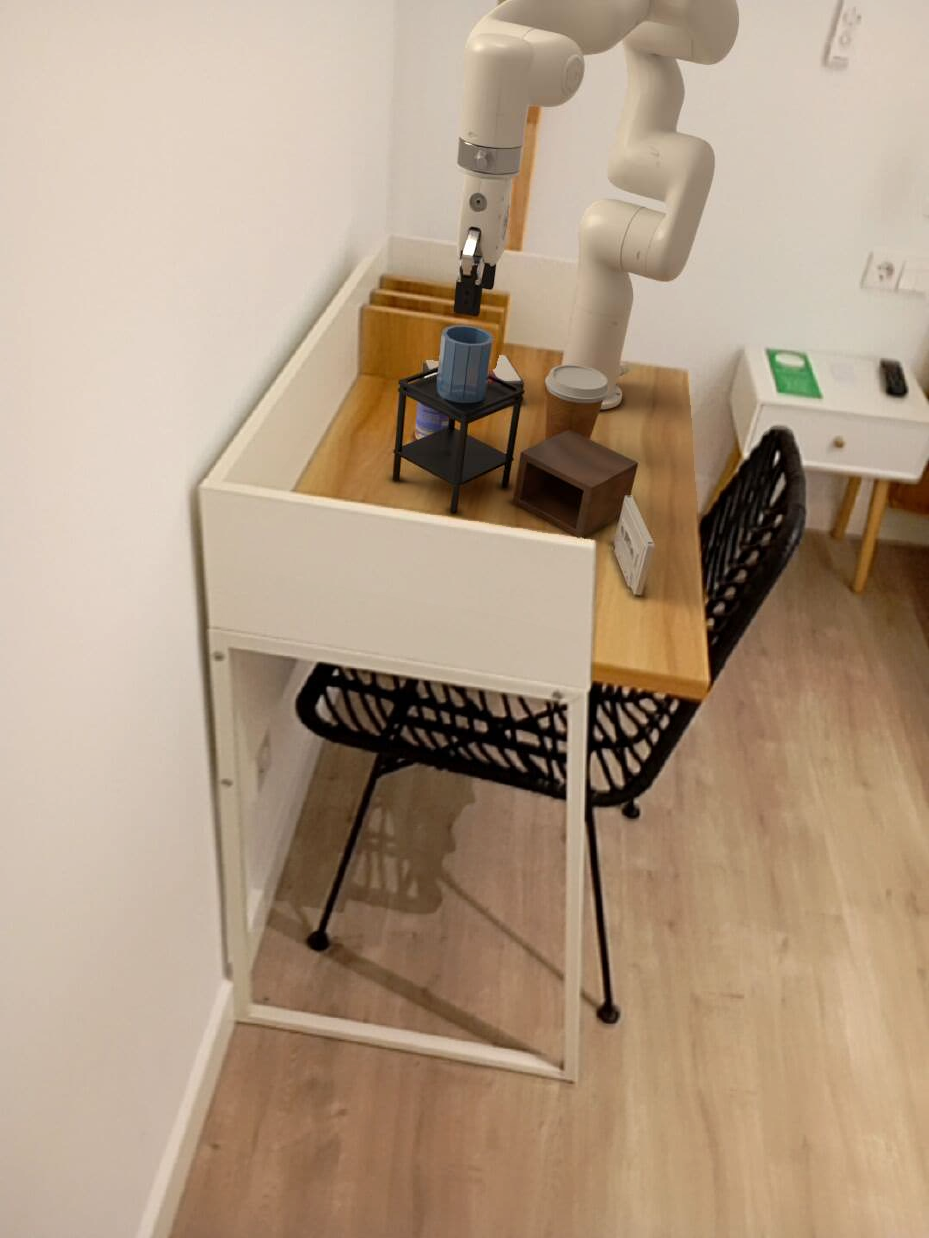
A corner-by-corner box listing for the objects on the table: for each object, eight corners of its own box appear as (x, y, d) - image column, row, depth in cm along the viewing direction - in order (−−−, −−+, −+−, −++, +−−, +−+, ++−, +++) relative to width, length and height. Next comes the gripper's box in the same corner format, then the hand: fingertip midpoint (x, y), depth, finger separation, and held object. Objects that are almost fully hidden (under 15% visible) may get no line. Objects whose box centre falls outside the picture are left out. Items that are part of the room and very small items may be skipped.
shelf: (559, 478, 149) (568, 429, 144) (626, 512, 143) (638, 462, 138) (512, 502, 142) (520, 451, 137) (581, 539, 136) (592, 487, 131)
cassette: (609, 543, 136) (621, 493, 131) (623, 543, 136) (635, 494, 132) (630, 596, 127) (644, 545, 122) (645, 596, 127) (659, 545, 122)
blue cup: (459, 377, 139) (465, 321, 134) (495, 395, 136) (503, 338, 131) (426, 389, 135) (431, 332, 130) (463, 408, 132) (470, 349, 127)
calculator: (421, 354, 170) (507, 351, 173) (420, 378, 172) (505, 374, 176) (435, 383, 161) (525, 379, 165) (434, 408, 164) (522, 403, 167)
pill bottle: (445, 449, 152) (452, 389, 146) (410, 442, 153) (416, 382, 147) (453, 433, 156) (460, 374, 150) (419, 426, 157) (424, 367, 151)
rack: (447, 454, 151) (458, 359, 142) (509, 487, 145) (524, 390, 136) (390, 479, 143) (398, 380, 134) (453, 515, 137) (466, 414, 128)
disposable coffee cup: (554, 429, 161) (567, 357, 154) (606, 450, 158) (622, 378, 150) (522, 448, 155) (534, 375, 148) (575, 471, 151) (590, 396, 144)
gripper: (508, 181, 111) (490, 331, 121) (532, 145, 124) (513, 283, 135) (442, 170, 112) (429, 320, 122) (472, 136, 125) (458, 273, 136)
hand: (473, 300), depth 128 cm, fingers open, 9 cm apart
